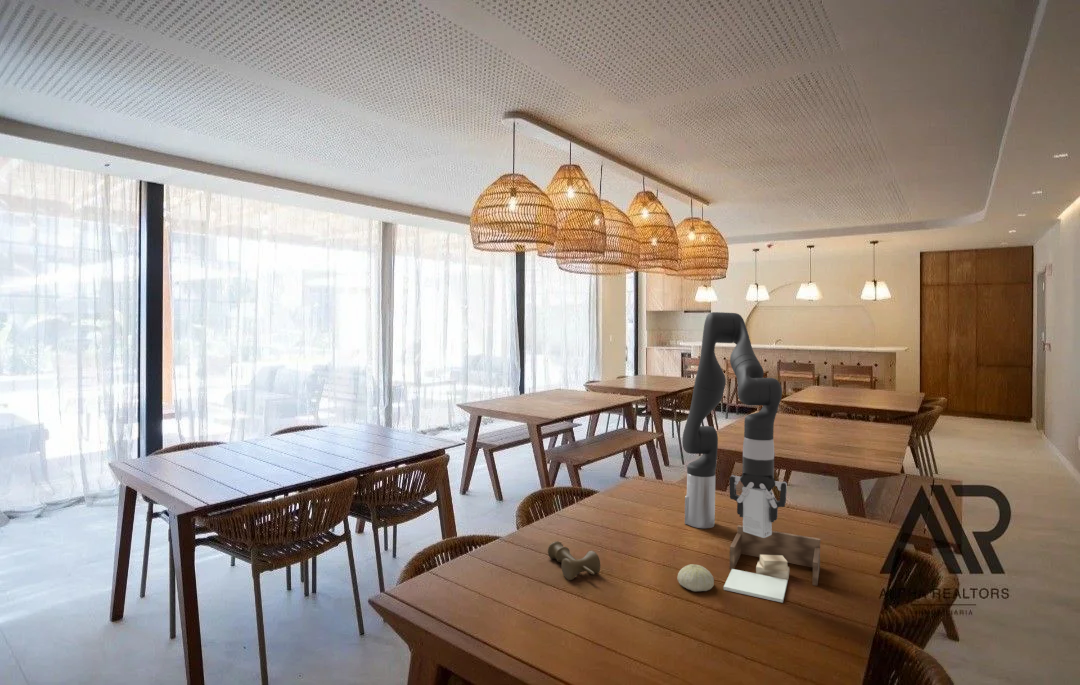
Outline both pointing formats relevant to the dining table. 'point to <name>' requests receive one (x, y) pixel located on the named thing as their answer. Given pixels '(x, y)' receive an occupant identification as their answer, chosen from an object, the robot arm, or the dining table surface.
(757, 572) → the offcut low
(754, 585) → the plate
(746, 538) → the screen
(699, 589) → the sea urchin shell
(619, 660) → the dining table surface
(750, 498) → the skincare box
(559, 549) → the kendama
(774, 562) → the offcut top
